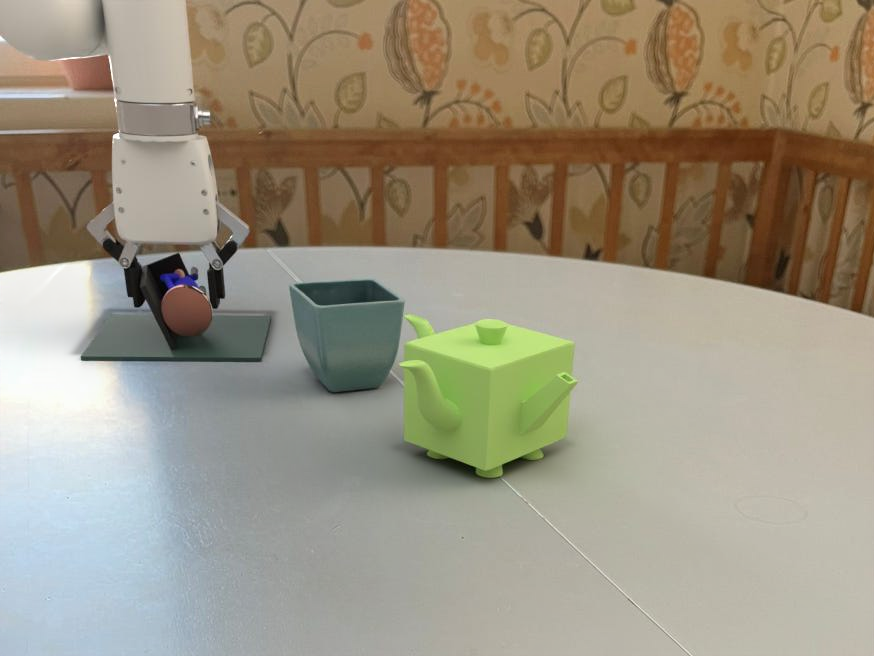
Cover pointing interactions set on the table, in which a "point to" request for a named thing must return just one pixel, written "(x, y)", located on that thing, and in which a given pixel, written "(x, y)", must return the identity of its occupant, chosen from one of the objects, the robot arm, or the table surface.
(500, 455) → the kettle
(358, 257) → the table surface
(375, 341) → the flower pot
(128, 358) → the placemat
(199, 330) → the character figurine
